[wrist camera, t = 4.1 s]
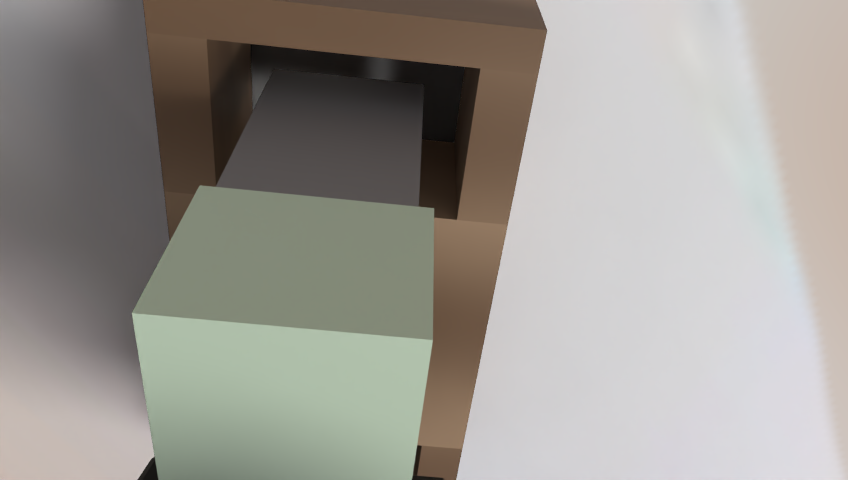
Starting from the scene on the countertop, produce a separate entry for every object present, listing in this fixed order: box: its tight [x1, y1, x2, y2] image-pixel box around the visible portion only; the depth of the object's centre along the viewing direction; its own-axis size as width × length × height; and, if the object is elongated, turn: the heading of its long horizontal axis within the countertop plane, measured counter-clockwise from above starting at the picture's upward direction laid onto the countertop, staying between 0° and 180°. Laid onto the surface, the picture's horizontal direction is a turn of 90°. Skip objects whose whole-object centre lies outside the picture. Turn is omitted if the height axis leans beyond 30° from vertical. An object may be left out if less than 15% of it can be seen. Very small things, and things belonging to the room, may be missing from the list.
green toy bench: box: [132, 69, 434, 480], centre depth 13 cm, size 10×3×6 cm, turn 174°
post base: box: [143, 0, 547, 480], centre depth 16 cm, size 13×6×3 cm, turn 174°
